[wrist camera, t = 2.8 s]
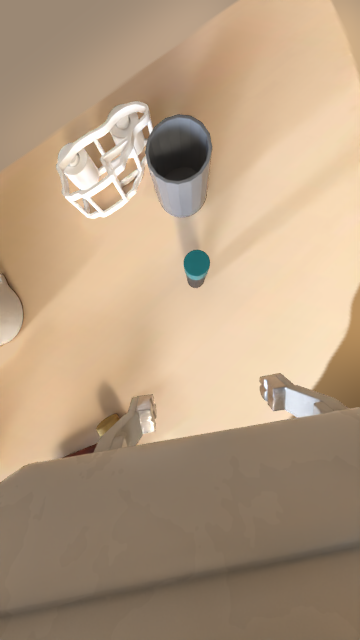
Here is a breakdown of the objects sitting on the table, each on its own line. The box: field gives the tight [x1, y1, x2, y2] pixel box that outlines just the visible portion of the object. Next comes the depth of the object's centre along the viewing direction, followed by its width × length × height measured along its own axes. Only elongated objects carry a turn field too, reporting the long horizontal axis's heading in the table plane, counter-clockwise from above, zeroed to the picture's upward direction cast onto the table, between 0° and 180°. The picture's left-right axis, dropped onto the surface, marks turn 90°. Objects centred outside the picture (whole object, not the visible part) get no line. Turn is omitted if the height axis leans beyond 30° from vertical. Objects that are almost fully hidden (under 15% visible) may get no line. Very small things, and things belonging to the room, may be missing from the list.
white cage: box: [56, 101, 153, 219], centre depth 33 cm, size 20×11×7 cm, turn 121°
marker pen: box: [184, 250, 210, 288], centre depth 30 cm, size 4×4×12 cm
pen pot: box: [145, 114, 212, 217], centre depth 31 cm, size 10×10×10 cm
